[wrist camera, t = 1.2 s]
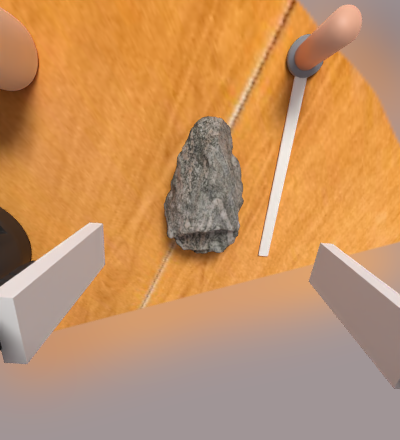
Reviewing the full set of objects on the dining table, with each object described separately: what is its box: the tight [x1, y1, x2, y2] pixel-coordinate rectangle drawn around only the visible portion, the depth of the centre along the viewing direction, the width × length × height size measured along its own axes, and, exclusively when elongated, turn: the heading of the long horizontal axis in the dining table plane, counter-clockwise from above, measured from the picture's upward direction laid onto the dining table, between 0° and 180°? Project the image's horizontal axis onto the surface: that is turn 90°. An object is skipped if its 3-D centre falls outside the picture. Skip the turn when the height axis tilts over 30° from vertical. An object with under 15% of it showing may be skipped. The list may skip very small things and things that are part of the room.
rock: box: [164, 116, 244, 254], centre depth 30 cm, size 18×10×10 cm
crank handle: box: [258, 4, 362, 256], centre depth 28 cm, size 4×30×8 cm, turn 174°
